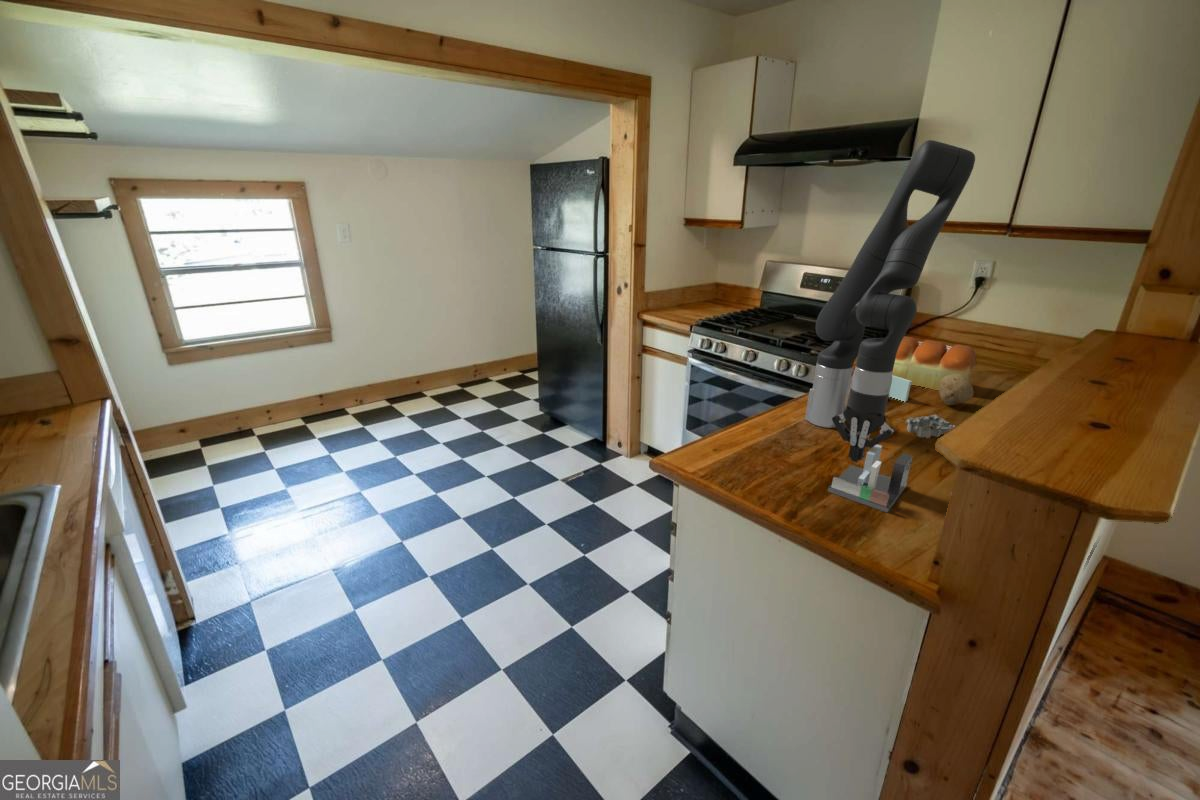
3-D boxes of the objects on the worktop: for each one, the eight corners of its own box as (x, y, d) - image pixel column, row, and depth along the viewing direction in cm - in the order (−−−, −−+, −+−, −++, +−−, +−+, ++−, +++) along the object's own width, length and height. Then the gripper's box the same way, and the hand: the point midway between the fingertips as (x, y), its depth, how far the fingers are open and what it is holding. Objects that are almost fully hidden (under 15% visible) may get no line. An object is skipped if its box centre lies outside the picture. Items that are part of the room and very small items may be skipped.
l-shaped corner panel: (848, 397, 168) (852, 375, 166) (872, 391, 174) (876, 370, 171) (881, 409, 159) (886, 386, 156) (906, 403, 164) (911, 381, 161)
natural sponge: (969, 404, 162) (977, 373, 158) (969, 413, 155) (978, 381, 151) (935, 398, 167) (942, 368, 163) (933, 406, 160) (941, 376, 156)
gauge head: (853, 489, 111) (859, 460, 109) (869, 471, 119) (875, 444, 116) (860, 491, 111) (866, 462, 108) (876, 473, 118) (882, 446, 115)
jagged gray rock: (922, 440, 138) (925, 426, 137) (900, 428, 145) (903, 415, 143) (955, 436, 140) (959, 422, 139) (932, 425, 147) (936, 411, 146)
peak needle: (864, 495, 109) (871, 466, 106) (870, 489, 111) (876, 460, 109) (869, 497, 108) (876, 468, 106) (875, 491, 111) (881, 461, 108)
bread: (968, 387, 177) (980, 345, 172) (961, 396, 169) (973, 352, 163) (889, 371, 193) (897, 332, 188) (878, 379, 184) (887, 339, 179)
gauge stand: (827, 491, 113) (833, 458, 110) (849, 468, 123) (856, 438, 120) (887, 512, 105) (895, 478, 103) (906, 486, 115) (914, 454, 112)
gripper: (909, 390, 109) (891, 464, 115) (844, 377, 117) (831, 446, 124) (899, 400, 104) (881, 476, 110) (832, 385, 112) (819, 456, 119)
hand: (855, 460), depth 117 cm, fingers closed
